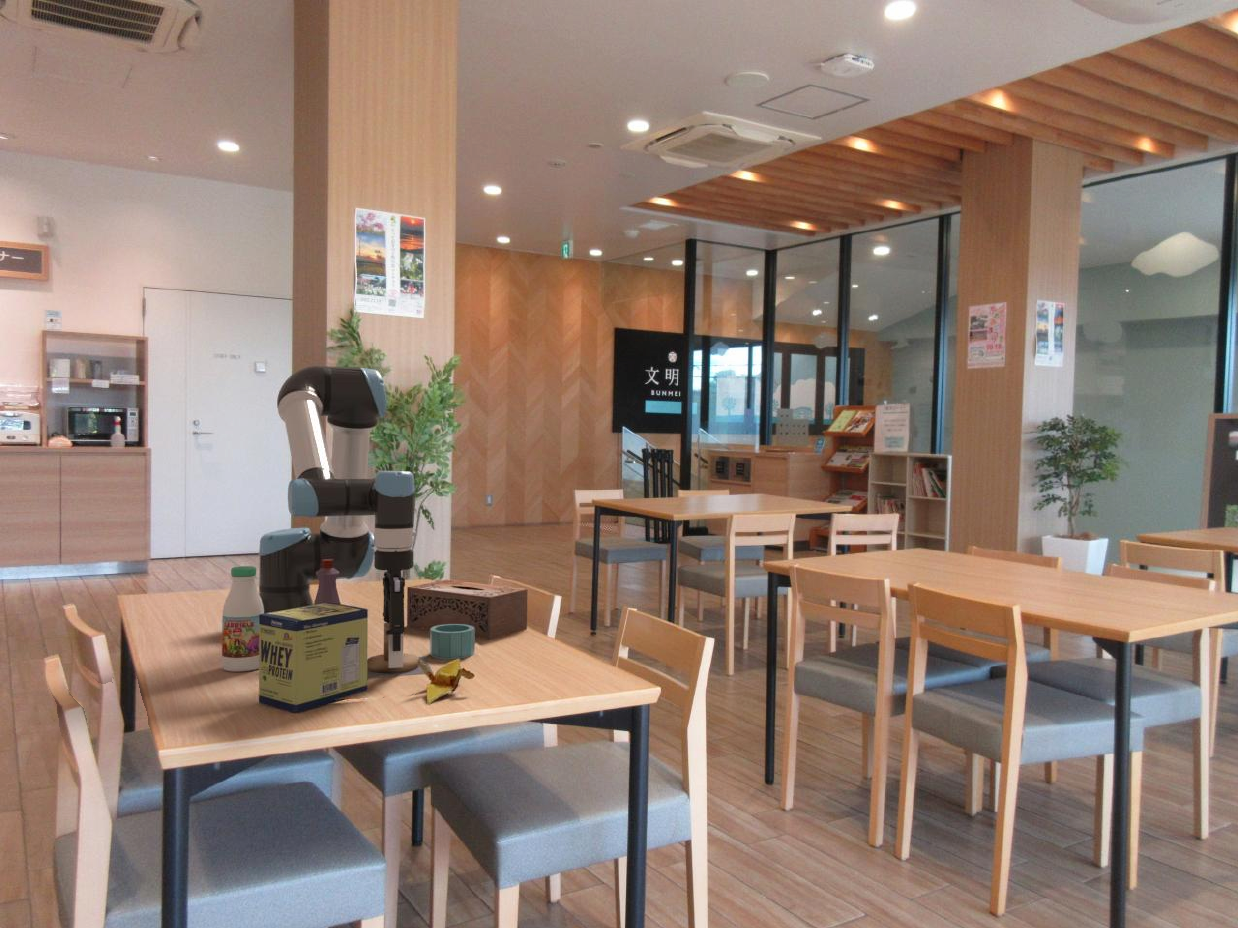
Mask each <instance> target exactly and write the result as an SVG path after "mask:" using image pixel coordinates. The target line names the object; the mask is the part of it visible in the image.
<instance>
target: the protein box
mask: <svg viewBox="0 0 1238 928" xmlns="http://www.w3.org/2000/svg"><path fill="white" fill-rule="evenodd" d="M368 611H369V610H368V608H363V607H359V606H354V605H353V606H352V605H347V604H342V603H341V604H338V603H332V602H329V603H323V604H317V605H312V606H306V607H301V608H295V609H289V610H283V611H278V612H271V613H264V614H260V615H259V669H258V675H259V676H258V684H259V685H258V703H259V704H264V705H266V706H268V707H269V706H270V707H273V708H276V709H279V708H280V709H279V710H283V711H286V710H287V712H290V713H293V714H299V713H303V712H306V711H309V710H314V709H316V708H320V707H323V706H328V705H331V704H335V703H339V702H342V701H344V700H347V698H346V697H348V696H353V695H355V694H359V693H364V692H366V691H368V678H367V659H368V642H369V641H368V635H369V634H368V633H369V632H368V631H369V629H368V625H369V623H368V620H369V619H368V618H369V617H368V616H369V613H368Z"/></svg>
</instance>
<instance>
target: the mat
mask: <svg viewBox="0 0 1238 928" xmlns="http://www.w3.org/2000/svg"><path fill="white" fill-rule="evenodd" d="M417 657H418V658H419V659H420V660H421V661H422V663H423V664H425V662H426V664H425V665H426V666H428V667H427V668H428V669H427V670H429V671H431V672H432V673H433V674H434V671H433V670H432V668H431V666H430V664H429V662H428V660H427V659H426V657H425V656H417ZM414 675H415V676H416V675H425V674H424V672H423V670H422V667H420V666H419V667H418V668H416V669H414V670H412V671H408V672H402V673H375V672H371V671H369V670H367V679H373V678H387V677H402V676H414Z"/></svg>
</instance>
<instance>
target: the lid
mask: <svg viewBox="0 0 1238 928" xmlns="http://www.w3.org/2000/svg"><path fill="white" fill-rule="evenodd" d="M385 623H386V622H385ZM394 627H395V626H394ZM388 630H390V623H386V624H384V623H383V654H378V655H377V654H376V655H374V656H370V657H369V658H368V657H367V670H369V671H371V672H375V673H402V672H408V671H412V670H414V669H416V668H418V667H419V663H418V660H419V658H418V657H419V656H417V655H414V654H411V653H403V667H397V668H389V667H388V654H389V635H386V631H388Z"/></svg>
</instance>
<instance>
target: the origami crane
mask: <svg viewBox="0 0 1238 928" xmlns="http://www.w3.org/2000/svg"><path fill="white" fill-rule="evenodd" d="M418 663H419V666H420V667H422V670H423V672H424V674H423V675H425V676H426V677H427V678H428V680H429V681H430V683H427V684H426V704H427V706H429V705H430V704H432V703H433V702H435V701H436V700H438V699H439V698H440V697H442V696H443V697H444V695H445V694H446V693H449V692H451V691H452V692H455V691H456V690H455V689H457V688H458V685H459V683H460V680H461V678H462V677H464V679H468V680H472V679H474V678H475V673H473V672H472V671H470V670H466V668H465V667H462V666H461V658H460V659H453V660H451V661H449V662H447V663H445V664H444V665H442V666H441V667H439V668H438V669H437V671H436V672H435V673H434V672H433V673H432V672H431V671H429V670H427V669H428V668H427V667H428V666H426V665H425V664H426V662H425V664H423V663H422V661H421V660H420V659H419V660H418ZM461 667H462V668H461Z"/></svg>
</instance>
